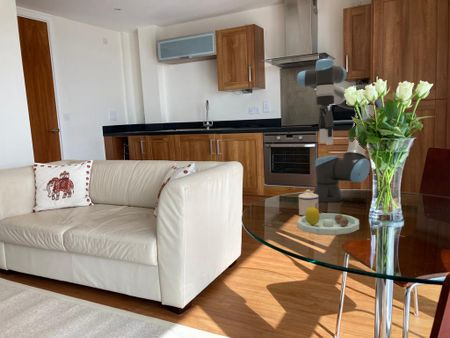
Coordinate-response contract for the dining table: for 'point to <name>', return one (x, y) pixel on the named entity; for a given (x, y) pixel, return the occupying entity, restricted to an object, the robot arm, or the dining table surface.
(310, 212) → the lemon
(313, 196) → the teacup with lid
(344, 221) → the walnut bead
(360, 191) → the dining table surface
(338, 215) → the walnut bead
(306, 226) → the tray
